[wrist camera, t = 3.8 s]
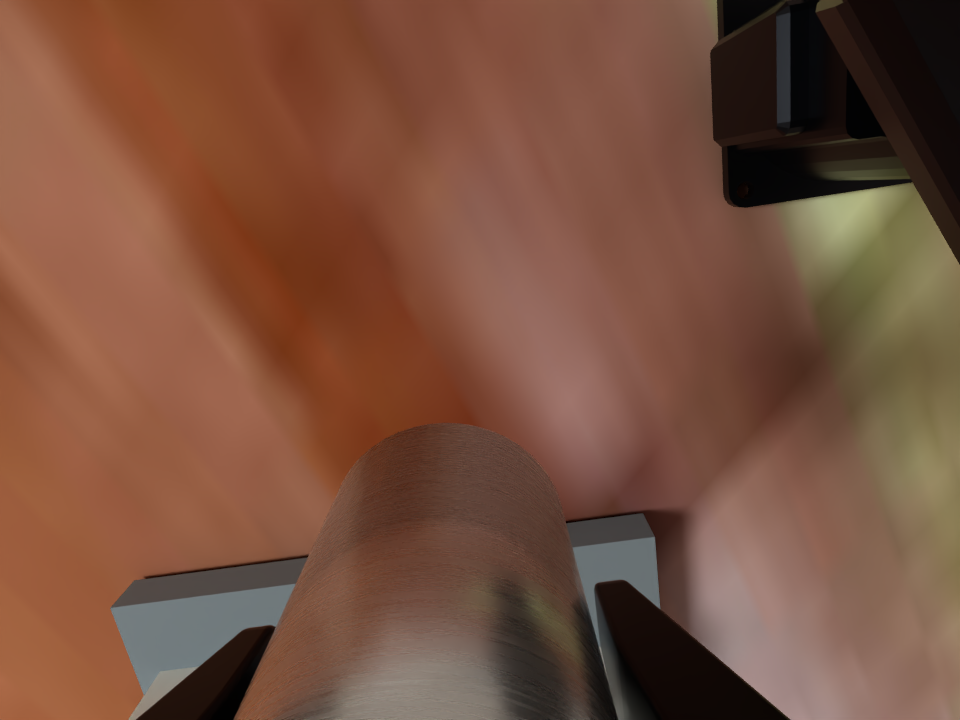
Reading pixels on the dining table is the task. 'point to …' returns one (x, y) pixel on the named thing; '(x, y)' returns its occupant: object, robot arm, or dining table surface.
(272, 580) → the board
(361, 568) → the gold capped canister
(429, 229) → the dining table surface
